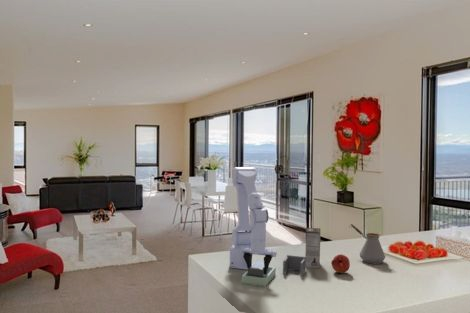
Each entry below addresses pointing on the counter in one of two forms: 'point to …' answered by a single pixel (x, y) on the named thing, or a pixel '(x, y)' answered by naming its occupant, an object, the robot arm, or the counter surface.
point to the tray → (259, 278)
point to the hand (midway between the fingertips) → (257, 272)
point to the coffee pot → (371, 248)
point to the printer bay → (294, 263)
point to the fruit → (340, 263)
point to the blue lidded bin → (257, 270)
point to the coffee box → (312, 247)
